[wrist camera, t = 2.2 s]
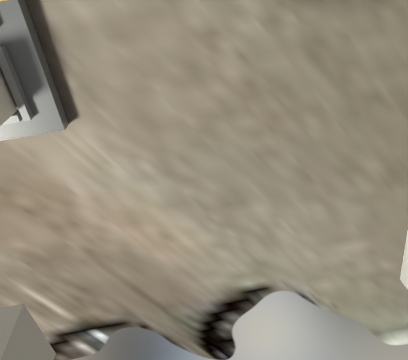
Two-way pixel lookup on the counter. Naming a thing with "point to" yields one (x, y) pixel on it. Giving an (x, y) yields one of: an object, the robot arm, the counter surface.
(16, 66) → the switch bank
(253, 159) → the counter surface
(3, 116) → the cream cube
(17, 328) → the robot arm
